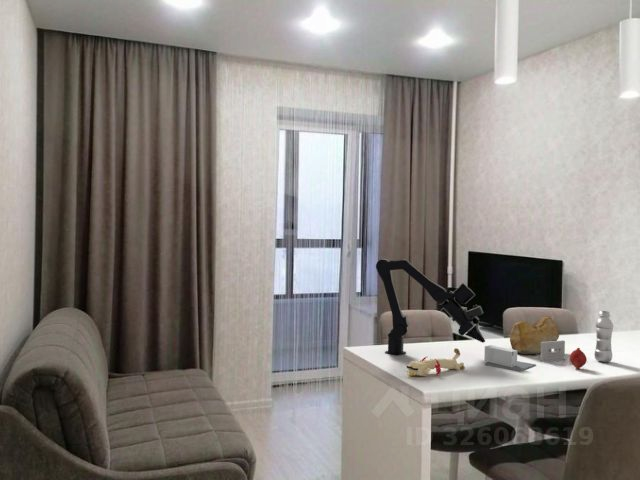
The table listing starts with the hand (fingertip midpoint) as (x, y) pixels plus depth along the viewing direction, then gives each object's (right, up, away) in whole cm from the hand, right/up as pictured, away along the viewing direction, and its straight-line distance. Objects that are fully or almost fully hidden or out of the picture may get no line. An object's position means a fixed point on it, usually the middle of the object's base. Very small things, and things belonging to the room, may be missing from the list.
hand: (484, 341), depth 223 cm
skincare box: (0, -4, -2) cm, 4 cm away
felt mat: (+8, -8, -7) cm, 13 cm away
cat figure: (-24, -8, -20) cm, 32 cm away
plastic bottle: (+48, -8, +2) cm, 49 cm away
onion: (+32, -8, -10) cm, 35 cm away
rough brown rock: (+25, -8, +21) cm, 34 cm away
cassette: (+28, -8, +3) cm, 29 cm away
